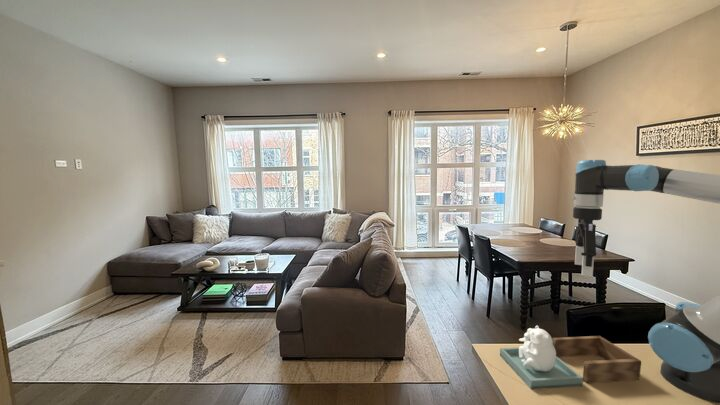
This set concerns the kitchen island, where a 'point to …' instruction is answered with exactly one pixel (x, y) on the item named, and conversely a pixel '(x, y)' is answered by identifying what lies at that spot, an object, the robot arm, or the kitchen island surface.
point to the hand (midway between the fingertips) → (583, 270)
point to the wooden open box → (608, 370)
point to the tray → (541, 372)
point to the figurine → (537, 350)
